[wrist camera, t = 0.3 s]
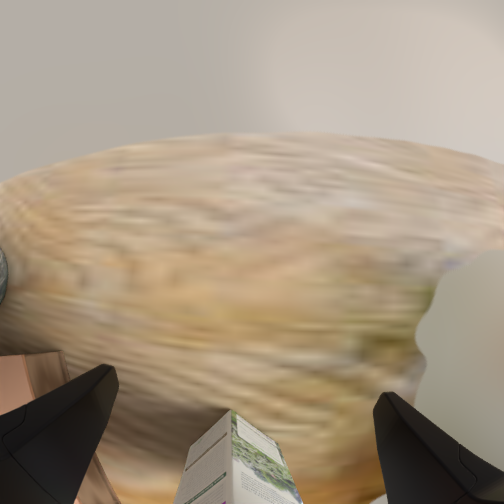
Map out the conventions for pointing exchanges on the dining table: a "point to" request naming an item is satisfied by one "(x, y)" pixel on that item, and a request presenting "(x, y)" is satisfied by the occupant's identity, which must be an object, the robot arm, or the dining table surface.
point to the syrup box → (236, 467)
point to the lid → (15, 386)
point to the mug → (3, 275)
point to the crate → (47, 379)
